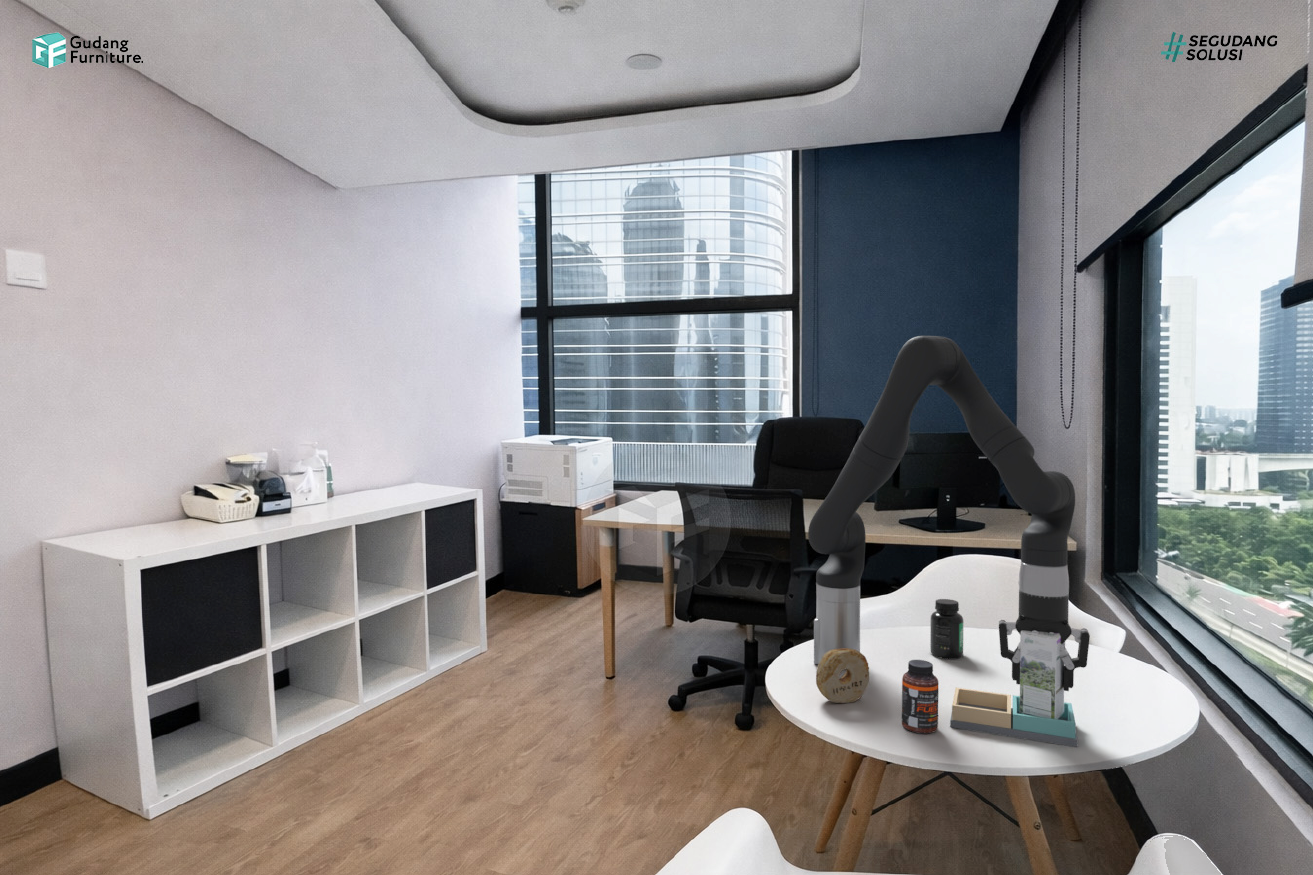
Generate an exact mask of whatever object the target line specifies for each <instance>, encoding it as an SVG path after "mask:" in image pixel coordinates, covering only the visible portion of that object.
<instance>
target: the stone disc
mask: <svg viewBox="0 0 1313 875" xmlns="http://www.w3.org/2000/svg"><path fill="white" fill-rule="evenodd" d="M816 667H817V668H816V675H815V684H816V687H817V689H818V691H819V692H820V693H821V694H822V696H823V697H824V698H825V699H827V700H828V701H830V702H831V703H835V704H837V703H838V704H848V703H854V702H856V701H858V700H859V699H860V698H861V697H862V696H863V695H864V693H865V692H866V690H867V688H868V686H869V682H870V672H869V670H870V667H869V662H868V659H867V658H866V656H865V655H864V654H863V653H862V652H861V651H860V652H859V651H856V650H854V649H849V648H841V649H833V650H830V651H828V652H826V653H825V654H824V655H823V657H822V659H821V660H820V662H819V664H817V666H816ZM844 670H845V673H844V674H843V676H842V677H840V674H841V672H842V671H844Z"/></svg>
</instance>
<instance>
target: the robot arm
mask: <svg viewBox="0 0 1313 875" xmlns="http://www.w3.org/2000/svg"><path fill="white" fill-rule="evenodd" d="M929 386H937V387H938V388H940V389H941V390H942V391H943V392H945V394H947V395H948V396H949V397H950V398H951V399H952V400H953V402H954V403H955V404H956V406H957V407H958V409H959V411H960V413H961V416H962V417H963V420H964V423H965V425H966V428H967V431H968V433H969V434H970V437H971V438H972V440H973V441H974V443H975V444H976V445H977V447H978V449H979V450H980V451H981V452H982V453H983V455H984V456H985V457H986V458H987V459H988V461H990V463H991V464H992V466H994V467H995V469H996V470H997V471H998V474H999V476H1000V478H1001V480H1002V482H1003V485H1004V486H1005V487H1006V488H1005V489H1007V491H1008V493H1009V494H1010V496H1011V498H1012V499H1013V501H1014V502H1015V503H1016V504H1017V505H1018V507H1020V508H1021V509H1022V510H1023V511H1025V512H1026V513H1029V514H1030V515H1031V517H1030V523H1029V525H1028V527H1026V528H1025V529H1024V531H1022V534H1021V540H1020V542H1021V543H1020V545H1021V546H1020V566H1019V567H1020V568H1019V574H1018V617H1017V619H1016V621H1014V622H1013V621H1007V620H1005V619H1000V620H999V621H998V634H999V635H998V636H999V637H998V638H999V648H1000V649H999V650H1000V656H1001V657H1002V658H1003V659H1008V660H1010V661H1011V679H1012V681H1016V685H1020V642H1019V643H1018V645H1017V646H1016V647H1015V649H1014V651H1013V650H1011V649H1010V648H1009V640H1008V639H1009V638H1008V636H1011V635H1012V634H1013V631H1014V630H1016V631H1017V632H1018V634H1019V635H1021V631H1022V630H1024V631H1031V633H1038V634H1039V632H1048V634H1053V635H1056V634H1055V633H1060V636H1061V642H1060V644H1059V656H1060V657H1061V659H1062V660H1063V662H1064V664H1065V666H1064V672H1063V688H1064V692H1069V691H1070V689H1072V688H1073V687H1074V677H1075V676H1074V673H1075V672H1074V671H1075V669H1077V668H1081V669H1082V668H1083V669H1084V668H1086V667H1087V664H1088V656H1089V655H1088V654H1089V647H1090V637H1091V634H1090V633H1089V630H1088V629H1087V628H1081V629H1078V628H1074V627H1071V626H1070V624H1069V601H1070V600H1069V599H1070V598H1069V596H1070V595H1069V594H1070V593H1069V592H1070V577H1069V576H1070V575H1069V569H1068V559H1069V558H1068V557H1069V556H1068V537H1069V533H1070V530H1071V526H1072V521H1073V517H1074V513H1075V508H1076V492H1075V487H1074V485H1073V483H1072V480H1071V479H1070V478H1069V477H1068V476H1067V475H1066V474H1064V473H1062V472H1060V471H1056V470H1049V471H1043V469H1042V468H1041V466H1039V464H1038V462H1037V461H1036V460H1035V458H1034V456H1035V448H1034V446H1033V445H1032V444H1031V442H1030V441H1029V440H1028V438H1026V436H1025V435H1024V434H1023V433H1022V432H1021V431H1020V430H1019V428H1018V427H1017V426H1016V425H1015V424H1014V423H1013V422H1012V420H1011V419H1010V418H1009V417H1008V416H1007V415H1006V413H1004V411H1003V410H1002V409H1001V406H999V405H998V404H997V403H996V401H995V399H994V398H993V397H992V395H991V394H990V393H989V390H987V388H986V386H984V384H983V383H982V381H981V379H980V378H979V376H978V375H977V373H976V372H975V369H974V367H972V365H971V363H970V362H969V360H968V358H967V357H966V354H964V352H963V350H962V349H961V347H959V345H958V344H957V343H956V342H955V341H954V340H953V339H951V338H948V337H945V336H940V335H918V336H914V337H912V338H910V339H909V340H907V341H906V342H905V343H904V344H903V346H902V347H901V349H900V350H899V351H898V353H897V356H896V359H895V361H894V363H893V366H892V367H891V371H890V373H889V376H888V378H887V381H886V384H885V386H884V389H883V391H882V393H881V395H880V397H879V400H878V401H877V403H876V405H875V407H874V409H873V410H872V413H871V415H870V417H869V419H868V421H867V422H866V425H865V426H864V428H863V430H862V432H861V433H860V435H859V437H858V439H857V441H856V443H855V445H854V446H853V449H852V451H851V453H850V455H849V457H848V459H847V461H846V463H845V465H844V467H843V468H842V470H841V471H840V473H839V475H838V477H837V479H836V481H835V483H834V484H833V486H832V488H831V489H830V491H829V492H828V494H827V496H826V497H824V498H825V499H824V500H823V502H822V503H821V504H820V506H819V507H818V508H817V510H816V511H815V513H814V514H813V516H812V518H811V520H810V522H809V526H808V529H807V530H808V531H807V532H808V533H807V535H808V542H809V544H810V546H811V547H812V549H813V550H814V551H815V552H816V553H819V554H821V555H822V554H823V555H829V556H828V559H827V560H826V561H825V563H824V564H823V565H822V566H820V567H819V568H818V569H817V571H816V573H815V574H816V576H815V579H816V582H815V585H816V591H815V593H816V603H815V604H816V607H815V608H816V612H815V613H816V617H815V618H814V620H813V664H815V665H818V664H819V662H820V660H821V659H822V657H823V655H824V654H825V653H826V652H828V651H830V650H833V649H841V648H849V649H854V650H856V651H859V652H860V653H861V578H862V575H863V573H864V569H865V556H866V555H865V554H866V528H865V527H866V526H865V524H864V521H863V519H862V517H861V515H860V514H859V513H858V512H857V511H858V509H860V507H861V505H863V504H864V502H866V501H867V500H868V499H869V498H870V497H872V495H873V494H875V493H876V492H877V491H878V490H879V489H880V488H881V487H882V486H883V485H884V484H885V483H887V481H889V479H890V478H891V477H892V475H893V474H894V473H895V471H896V469H897V467H898V466H899V464H900V462H901V461H902V460H903V457H904V455H905V453H906V451H907V449H908V446H909V440H910V426H911V425H910V424H911V418H912V415H913V412H914V410H915V407H916V405H917V404H918V402H919V400H920V399H921V397H922V395H923V394H924V392H925V391H926V390H927V388H928V387H929ZM1070 636H1073V637H1074V641H1075V643H1077V644H1078V648H1077V657H1071V655H1070V653H1069V651H1068V650H1067V648H1066V645H1065V646H1064V647H1063V646H1062V644H1063V643H1064V642H1065V643H1066V641H1067V640H1068V639H1069V638H1070Z"/></svg>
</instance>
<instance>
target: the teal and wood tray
mask: <svg viewBox="0 0 1313 875" xmlns="http://www.w3.org/2000/svg"><path fill="white" fill-rule="evenodd" d="M949 720H950V721H949V722H950V726H949V727H950V728H954V729H959V730H966V731H973V732H980V733H984V734H985V733H986V734H992V735H999V736H1005V737H1010V738H1016V739H1022V740H1023V739H1024V740H1029V741H1037V742H1042V743H1049V744H1056V745H1061V746H1067V747H1074V748H1075V747H1076V748H1078V736H1077V730H1076V725H1077V724H1076V720H1075V714H1074V709H1073V705H1072V702H1065V701H1064V713H1063V714H1062V715H1061V716H1060V717H1059V719H1051V718H1044V717H1037V716H1030V715H1024V714H1021V713H1020V695H1014V694H1013V695H1012V694H1007V693H1005V694H1004V693H999V692H993V691H992V692H991V691H986V690H985V691H984V690H977V689H971V688H970V689H969V688H962V687H955V689H954V693H953V700H952V704H951V716H950V719H949Z"/></svg>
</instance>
